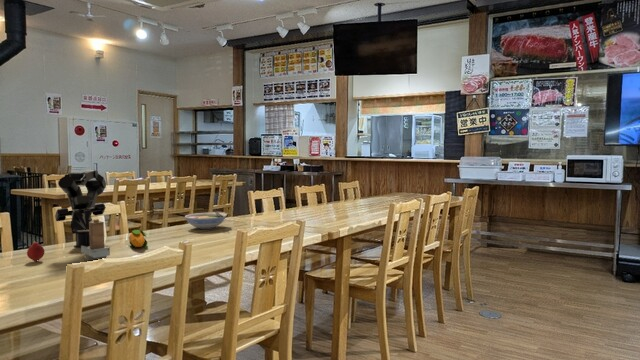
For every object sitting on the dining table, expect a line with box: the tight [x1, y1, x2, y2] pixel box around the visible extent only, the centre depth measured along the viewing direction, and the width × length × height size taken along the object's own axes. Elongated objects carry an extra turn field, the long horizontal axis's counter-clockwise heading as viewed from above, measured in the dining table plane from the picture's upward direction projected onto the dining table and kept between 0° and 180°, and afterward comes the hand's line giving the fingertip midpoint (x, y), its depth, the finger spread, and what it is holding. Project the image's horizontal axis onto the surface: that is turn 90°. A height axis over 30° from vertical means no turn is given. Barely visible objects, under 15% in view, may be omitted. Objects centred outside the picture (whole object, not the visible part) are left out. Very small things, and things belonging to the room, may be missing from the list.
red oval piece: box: [26, 241, 45, 262], centre depth 180 cm, size 6×6×8 cm
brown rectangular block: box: [89, 218, 106, 249], centre depth 182 cm, size 5×4×12 cm
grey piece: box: [80, 246, 111, 261], centre depth 184 cm, size 14×8×5 cm, turn 46°
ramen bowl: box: [184, 211, 228, 230], centre depth 254 cm, size 25×23×8 cm
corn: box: [128, 229, 148, 249], centre depth 206 cm, size 7×8×20 cm
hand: (86, 228), depth 192 cm, fingers closed
